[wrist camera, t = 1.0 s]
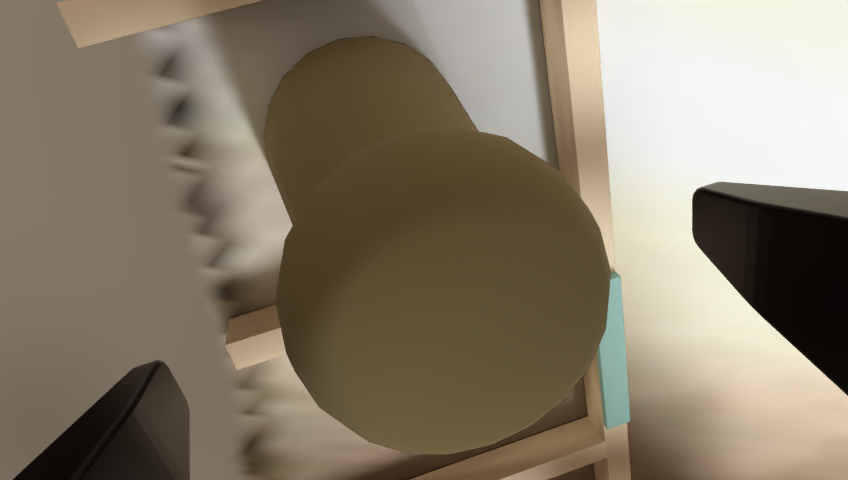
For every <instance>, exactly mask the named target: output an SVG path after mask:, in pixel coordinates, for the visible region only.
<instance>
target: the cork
mask: <svg viewBox="0 0 848 480" xmlns="http://www.w3.org/2000/svg"><path fill="white" fill-rule="evenodd" d="M264 140H265V145H266V150H267V155H268V161H269V166H270V170H271V172H272V175H273V177H274V180H275V182H276V185H277V187H278V190H279V192H280V194H281V197H282V199H283V202H284V204H285V207H286V209H287V212H288V214H289V217H290V219H291V222H292V224H293V227H292V228H291V230H290V232H289V234H288V235H287V237H286V239H285V243H284V249H283V255H282V261H281V267H280V273H279V279H278V285H277V301H276V308H277V313H278V317H279V322H280V327H281V332H282V336H283V341H284V346H285V351H286V353H287V356H288V358H289V360H290V362H291V364H292V366H293V368H294V371H295V372H296V374H297V375H298V377H299V378H300V380H301V381H302V383H303V384H304V386H305V387H306V389H307V390H308V392H309V393H310V395H311V396H312V398H313V399H314V401H315V402H316V403H317V405H318V406H319V408H321V409H322V410H324V411H325V412H326V413H328V414H329V415H331V416H332V417H334V418H335V419H336V420H338V421H339V422H341V423H342V424H343V425H345V426H346V427H348V428H349V429H351V430H352V431H353V432H355V433H356V434H358V435H359V436H361V437H362V438H364V439H366V440H367V441H369V442H371V443H374V444H378V445H381V446H384V447H388V448H391V449H394V450H398V451H401V452H404V453H407V454H454V453H458V452H463V451H467V450H471V449H476V448H480V447H485V446H489V445H492V444H494V443H497V442H499V441H501V440H503V439H505V438H507V437H509V436H511V435H513V434H515V433H517V432H520V431H522V430H524V429H526V428H528V427H530V426H531V425H533V424H534V423H535V422H536V421H538V420H539V419H540V418H541V417H543V416H544V415H545V414H547V413H548V412H549V411H550V410H552V409H553V408H554V407H555V406H557V405H558V404H559V403H560V402H562V401H563V400H564V399H565V398H566V397H567V395H568V394H569V393H570V391H571V390H572V389H573V388H574V386H575V385H576V384H577V383H578V381H579V380H580V379H581V378H582V376H583V375H584V374H585V372H586V371H587V370H588V369H589V367H590V365H591V363H592V361H593V358H594V356H595V354H596V351H597V349H598V347H599V344H600V342H601V340H602V337H603V335H604V333H605V330H606V323H607V313H608V303H609V293H610V273H611V269H610V265H609V261H608V257H607V254H606V250H605V246H604V242H603V238H602V234H601V230H600V227H599V226H598V224H597V222H596V220H595V218H594V217H593V215H592V213H591V211H590V209H589V208H588V207H587V205H586V204H585V203H584V201H583V200H582V199H581V197H580V196H579V195H578V193H577V192H576V190H575V189H574V188H573V186H572V185H571V184H570V182H569V181H568V180H567V178H566V177H565V176H564V174H563V173H562V172H560V171H559V170H557V169H556V168H554V167H553V166H551V165H550V164H548V163H547V162H545V161H544V160H542V159H540V158H539V157H537V156H536V155H534V154H532V153H531V152H529V151H527V150H526V149H524V148H523V147H521V146H519V145H518V144H516V143H515V142H513V141H511V140H510V139H508V138H507V137H502V136H497V135H493V134H488V133H483V132H479V131H478V130H477V128H476V126H475V125H474V123H473V122H472V120H471V118H470V117H469V115H468V114H467V112H466V110H465V109H464V107H463V106H462V104H461V102H460V101H459V99H458V98H457V96H456V95H455V93H454V91H453V90H452V88H451V87H450V85H449V84H448V83H447V81H446V80H445V79H444V78H443V76H442V75H441V74H440V72H439V71H438V70H437V69H436V67H435V66H434V65H433V64H432V62H431V61H429V60H428V59H426V58H425V57H423V56H422V55H420V54H419V53H417V52H415V51H414V50H412V49H411V48H409V47H408V46H406V45H405V44H402V43H397V42H393V41H389V40H385V39H381V38H377V37H373V36H369V37H358V38H347V39H338V40H336V41H334V42H332V43H329V44H327V45H325V46H323V47H321V48H318V49H316V50H314V51H312V52H309V53H308V54H307V55H306V56H305V57H304V58H302V59H301V60H300V61H299V62H298V63H297V64H296V65H295V66H294V67H293V68H292V69H291V70H290V71H289V72H288V73H287V74H286V75H285V76H284V77H283V79H282V81H281V83H280V84H279V86H278V88H277V90H276V92H275V94H274V96H273V98H272V100H271V102H270V104H269V106H268V113H267V120H266V127H265V134H264Z"/></svg>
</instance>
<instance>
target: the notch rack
mask: <svg viewBox="0 0 848 480" xmlns="http://www.w3.org/2000/svg"><path fill="white" fill-rule="evenodd" d="M259 1H263V0H67V1H63V2H59V3H56V4H57V6H58V8H59V10H60V12H61V15H62V16H63V19H64V20H65V23H66V25H67V27H68V28H69V31H70V33H71V34H72V37H73V39H74V41H75V43H76V45H77V47H78V48H81V47H85V46H89V45H93V44H96V43H100V42H104V41H108V40H112V39H116V38H120V37H123V36H127V35H131V34H135V33H139V32H143V31H147V30H151V29H154V28H158V27H162V26H166V25H170V24H174V23H178V22H181V21H185V20H189V19H193V18H197V17H201V16H205V15H208V14H212V13H216V12H220V11H224V10H228V9H232V8H236V7H239V6H243V5H247V4H251V3H255V2H259ZM539 3H540V12H541V20H542V29H543V37H544V46H545V54H546V63H547V71H548V80H549V89H550V97H551V106H552V114H553V123H554V131H555V140H556V148H557V157H558V165H559V171H560V172H562V173H563V174H564V176H565V177H566V178H567V180H568V181H569V182H570V184H571V185H572V186H573V188H574V189H575V190H576V192H577V193H578V195H579V196H580V197H581V199H582V200H583V201H584V203H585V204H586V205H587V207H588V208H589V209H590V211H591V213H592V215H593V217H594V218H595V220H596V222H597V224H598V226H599V227H600V230H601V234H602V238H603V242H604V246H605V250H606V254H607V257H608V261H609V265H610V269H611V273H610V293H609V303H608V313H607V323H606V330H605V333H604V335H603V337H602V340H601V342H600V344H599V347H598V349H597V351H596V354H595V356H594V358H593V361H592V363H591V365H590V367H589V369H588V370H587V371H586V372H585V374H584V375H583V378H584V386H585V395H586V404H587V412H588V416H587V417H584V418H581V419H578V420H576V421H573V422H570V423H567V424H564V425H562V426H559V427H556V428H553V429H550V430H547V431H545V432H542V433H539V434H536V435H533V436H531V437H528V438H525V439H522V440H519V441H516V442H514V443H511V444H508V445H505V446H502V447H500V448H497V449H494V450H491V451H488V452H485V453H483V454H480V455H477V456H474V457H471V458H469V459H466V460H463V461H460V462H457V463H454V464H452V465H449V466H446V467H443V468H440V469H438V470H435V471H432V472H429V473H426V474H424V475H421V476H418V477H415V478H412V479H409V480H548V479H551V478H553V477H556V476H559V475H562V474H564V473H567V472H570V471H573V470H575V469H578V468H581V467H584V466H586V465H589V464H592V463H594V472H595V480H631V472H630V458H629V445H628V431H627V422H630V408H629V393H628V379H627V364H626V350H625V335H624V321H623V306H622V292H621V277H620V275H618V274H617V273H616V267H615V254H614V240H613V226H612V213H611V199H610V185H609V172H608V158H607V144H606V131H605V117H604V103H603V90H602V76H601V62H600V49H599V35H598V22H597V8H596V0H539ZM225 346H226V348H227V350H228V352H229V354H230V356H231V358H232V360H233V362H234V364H235V366H236V368H237V370H238V369H241V368H244V367H247V366H250V365H254V364H257V363H260V362H263V361H266V360H269V359H272V358H275V357H278V356H281V355H284V354H287V353H286V351H285V346H284V341H283V336H282V332H281V327H280V322H279V317H278V313H277V308H276V304H275V305H272V306H269V307H266V308H263V309H259V310H256V311H253V312H250V313H247V314H243V315H240V316H237V317H234V318H231V319H229V324H228V330H227V337H226V343H225Z"/></svg>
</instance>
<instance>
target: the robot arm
mask: <svg viewBox="0 0 848 480" xmlns="http://www.w3.org/2000/svg"><path fill="white" fill-rule="evenodd" d="M692 232H693V237H694V240H695V242H696V244H697V245H698V247H699V248H700V249H701V250H702V251H703V253H704V254H705V255H706V256H707V257H708V258H709V259H710V261H711V262H712V263H713V264H714V265H715V266H716V267H717V268H718V270H719V271H720V272H721V273H722V274H723V275H724V276H725V278H726V279H727V280H728V281H729V282H730V283H731V284H732V285H733V287H734V288H735V289H736V290H737V291H738V292H739V293H740V295H741V296H742V297H743V298H744V299H745V300H746V301H747V302H748V303H749V304H750V305H751V306H752V308H753V309H755V310H756V311H757V312H758V313H759V314H760V315H761V316H762V317H763V318H764V319H765V320H766V321H767V322H768V323H769V324H770V325H771V326H773V327H774V328H775V329H776V330H777V331H778V332H779V333H780V334H781V335H782V336H783V337H785V338H786V339H787V340H788V341H789V342H790V343H791V344H792V345H793V346H794V347H795V348H796V349H798V350H799V351H800V352H801V353H802V354H803V355H804V356H805V357H806V358H807V359H808V360H810V361H811V362H812V363H813V364H814V365H815V366H816V367H817V368H818V369H819V370H820V371H822V372H823V373H824V374H825V375H826V376H827V377H828V378H829V379H830V380H831V381H832V382H833V383H835V384H836V385H837V386H838V387H839V388H840V389H841V390H842V391H843V392H844V393H845V394H847V395H848V191H836V190H823V189H809V188H796V187H783V186H769V185H756V184H743V183H729V182H716V183H713V184H710V185H706V186H703V187H700V188H698V189H697V190H696V191H695V192H694V194H693V199H692ZM189 417H190V413H189V406H188V403H187V400H186V398H185V396H184V394H183V392H182V390H181V389H180V387H179V385H178V384H177V382H176V380H175V378H174V376H173V375H172V373H171V371H170V369H169V368H168V366H167V365H166V364H165V363H164V362H163V361H160V360H156V361H153V362H150V363H146V364H143V365H140V366H137V367H135V368H133V369H132V370H130V371H129V372H128V373H127V374H126V375H125V376H124V377H123V378H122V379H121V380H120V381H118V382H117V383H116V384H115V385H114V386H113V387H112V388H111V389H110V390H109V391H108V392H107V393H106V394H105V395H103V396H102V397H101V398H100V399H99V400H98V401H97V402H96V403H95V404H94V405H93V406H92V407H90V409H88V410H87V411H86V412H85V413H84V414H83V415H82V416H81V417H80V418H79V419H77V420H76V421H75V422H74V423H73V424H72V425H71V426H70V427H69V428H68V429H67V430H66V431H65V432H63V433H62V434H61V435H60V436H59V437H58V438H57V439H56V440H55V441H54V442H53V443H52V444H50V445H49V447H47V448H46V449H45V450H44V451H43V452H42V453H41V454H40V455H39V456H38V457H36V458H35V459H34V460H33V461H32V462H31V463H30V464H29V465H28V466H27V467H26V468H24V469H23V470H22V471H21V472H20V473H19V474H18V475H17V476H16V477H15V478H14V479H13V480H190V418H189Z"/></svg>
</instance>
